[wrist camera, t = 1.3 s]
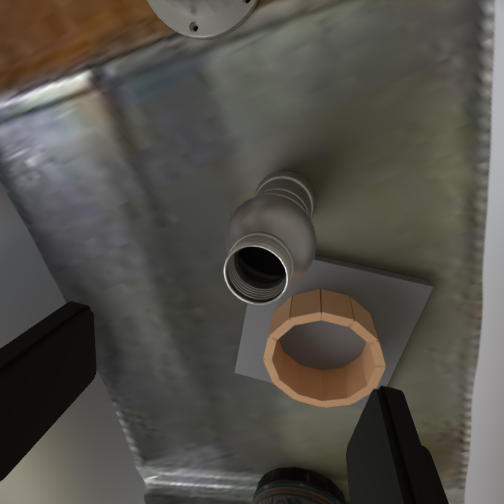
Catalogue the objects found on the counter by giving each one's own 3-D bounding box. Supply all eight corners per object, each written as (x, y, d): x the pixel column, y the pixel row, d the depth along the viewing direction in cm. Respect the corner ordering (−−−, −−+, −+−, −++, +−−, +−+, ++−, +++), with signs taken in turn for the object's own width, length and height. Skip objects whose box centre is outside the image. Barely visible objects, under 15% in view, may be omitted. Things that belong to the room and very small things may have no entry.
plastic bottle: (297, 156, 32) (276, 189, 14) (326, 210, 34) (340, 303, 16) (247, 186, 35) (173, 249, 16) (276, 235, 36) (239, 343, 18)
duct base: (260, 242, 37) (250, 264, 31) (429, 280, 35) (452, 311, 29) (237, 365, 45) (225, 401, 39) (372, 402, 43) (382, 446, 37)
